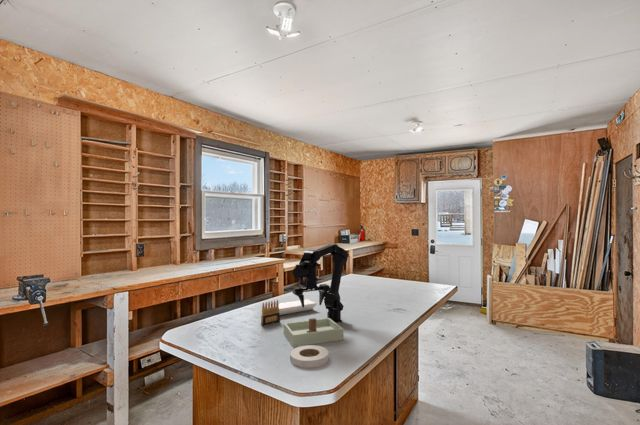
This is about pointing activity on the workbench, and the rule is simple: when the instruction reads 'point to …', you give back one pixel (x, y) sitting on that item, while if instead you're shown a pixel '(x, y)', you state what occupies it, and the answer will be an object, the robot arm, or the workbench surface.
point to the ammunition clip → (270, 313)
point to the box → (302, 336)
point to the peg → (312, 325)
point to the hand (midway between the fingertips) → (311, 306)
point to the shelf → (295, 306)
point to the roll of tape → (315, 361)
